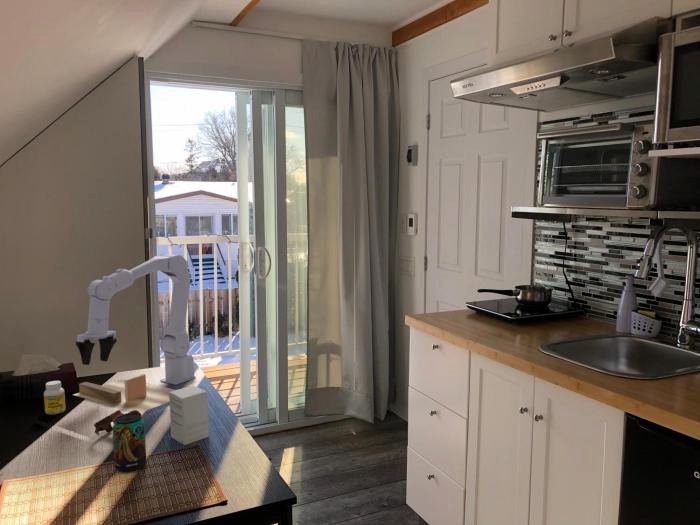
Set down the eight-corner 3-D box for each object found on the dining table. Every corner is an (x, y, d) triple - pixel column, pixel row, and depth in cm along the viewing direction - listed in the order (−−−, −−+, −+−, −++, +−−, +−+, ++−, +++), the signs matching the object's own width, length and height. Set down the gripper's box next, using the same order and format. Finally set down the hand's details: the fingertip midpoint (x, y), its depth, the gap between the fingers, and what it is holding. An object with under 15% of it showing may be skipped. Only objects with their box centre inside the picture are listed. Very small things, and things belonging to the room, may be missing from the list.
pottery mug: (111, 451, 145) (95, 422, 145) (101, 455, 152) (85, 428, 152) (152, 425, 153) (137, 398, 153) (141, 430, 160) (126, 405, 160)
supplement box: (195, 429, 156) (193, 384, 155) (209, 437, 151) (207, 391, 150) (170, 437, 151) (168, 391, 150) (184, 446, 146) (182, 398, 145)
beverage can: (115, 476, 130) (112, 425, 129) (114, 463, 137) (111, 415, 135) (147, 470, 133) (145, 420, 132) (145, 458, 139) (143, 410, 138)
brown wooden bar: (86, 391, 186) (86, 381, 185) (121, 401, 176) (121, 391, 176) (79, 393, 184) (79, 383, 183) (114, 403, 174) (114, 393, 174)
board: (126, 380, 200) (126, 377, 199) (190, 396, 183) (190, 393, 182) (72, 397, 183) (72, 394, 183) (137, 417, 166) (137, 413, 166)
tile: (144, 395, 181) (143, 373, 181) (147, 395, 181) (145, 374, 180) (125, 401, 176) (124, 379, 175) (127, 402, 175) (126, 380, 174)
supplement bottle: (64, 409, 172) (62, 378, 171) (67, 415, 168) (64, 383, 167) (44, 413, 169) (42, 382, 168) (46, 419, 165) (44, 386, 164)
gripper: (104, 315, 185) (101, 357, 185) (70, 319, 171) (66, 364, 171) (122, 318, 183) (119, 360, 183) (89, 321, 169) (85, 367, 169)
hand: (95, 362), depth 177 cm, fingers open, 7 cm apart
